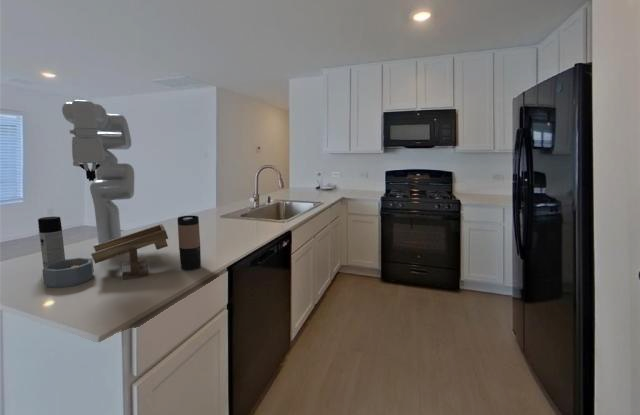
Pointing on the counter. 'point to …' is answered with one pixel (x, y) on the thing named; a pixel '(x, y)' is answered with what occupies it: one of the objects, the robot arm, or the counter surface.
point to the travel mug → (189, 242)
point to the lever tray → (130, 243)
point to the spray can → (51, 239)
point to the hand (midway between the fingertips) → (91, 180)
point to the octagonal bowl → (68, 272)
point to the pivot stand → (134, 267)
